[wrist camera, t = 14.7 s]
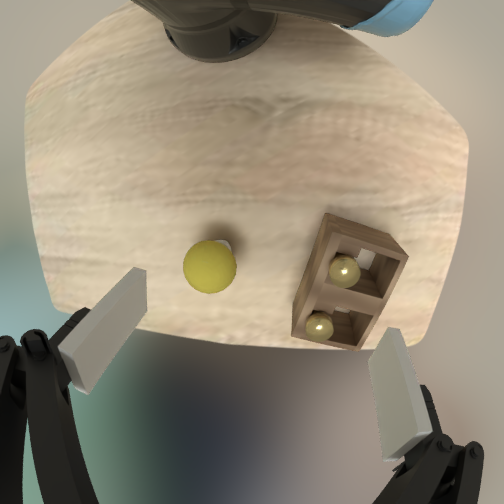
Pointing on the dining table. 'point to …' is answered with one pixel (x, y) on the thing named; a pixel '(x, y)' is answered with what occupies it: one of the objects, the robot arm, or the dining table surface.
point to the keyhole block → (355, 297)
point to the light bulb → (210, 266)
